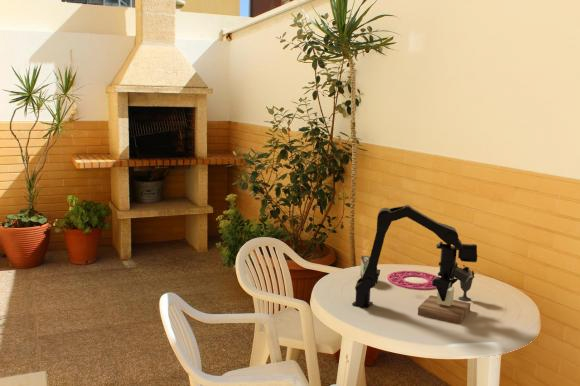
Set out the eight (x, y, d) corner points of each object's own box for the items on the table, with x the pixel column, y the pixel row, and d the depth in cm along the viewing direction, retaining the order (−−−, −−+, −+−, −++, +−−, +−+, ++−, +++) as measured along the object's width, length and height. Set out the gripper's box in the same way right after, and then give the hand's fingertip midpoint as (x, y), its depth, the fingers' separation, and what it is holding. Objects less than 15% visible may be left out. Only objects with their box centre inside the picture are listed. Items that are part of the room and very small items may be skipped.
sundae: (454, 300, 234) (457, 265, 232) (458, 295, 240) (460, 261, 238) (471, 303, 231) (474, 267, 229) (474, 298, 237) (477, 263, 235)
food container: (376, 284, 251) (377, 263, 249) (362, 284, 251) (363, 262, 249) (373, 276, 263) (374, 255, 261) (360, 275, 263) (361, 255, 261)
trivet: (395, 290, 245) (395, 288, 245) (381, 272, 270) (381, 270, 270) (451, 290, 247) (451, 288, 247) (433, 272, 272) (433, 270, 271)
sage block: (449, 306, 216) (450, 291, 215) (436, 303, 219) (437, 288, 218) (453, 302, 220) (454, 287, 219) (440, 299, 223) (441, 285, 222)
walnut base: (459, 323, 209) (460, 316, 209) (417, 314, 217) (418, 307, 217) (470, 310, 223) (470, 303, 222) (429, 302, 231) (430, 295, 230)
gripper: (463, 269, 205) (460, 310, 207) (475, 258, 221) (472, 296, 223) (433, 264, 210) (430, 304, 213) (446, 253, 226) (443, 290, 229)
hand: (445, 299), depth 219 cm, fingers closed on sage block, 5 cm apart
